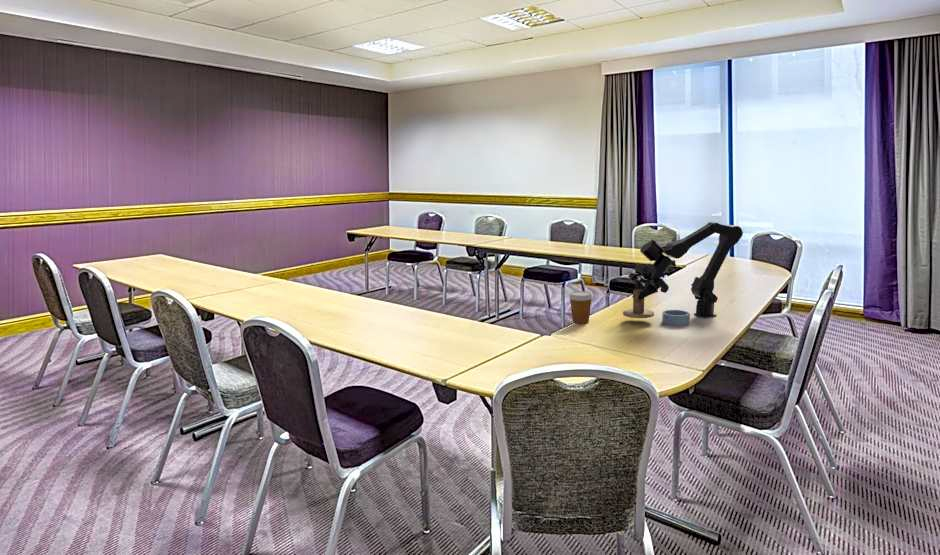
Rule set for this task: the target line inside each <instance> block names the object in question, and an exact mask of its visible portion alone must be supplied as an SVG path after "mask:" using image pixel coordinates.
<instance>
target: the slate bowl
mask: <svg viewBox="0 0 940 555" xmlns="http://www.w3.org/2000/svg"><path fill="white" fill-rule="evenodd" d="M661 318H662V320H661V322H662V324H664V325H667V326H672V325H673V327H684V326H688V325H690V323H691V322H690V320H691V314H690V312H689V311H686V310H683V309H681V310H680V309H666V310H663V311H662V316H661Z"/></svg>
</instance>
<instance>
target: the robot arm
mask: <svg viewBox="0 0 940 555" xmlns="http://www.w3.org/2000/svg"><path fill="white" fill-rule="evenodd" d="M714 234H719V236H718V245H717V246H716V248H715V251H714V253H713V254H712V256H711V258H710V260H709V262H708V264H707V266H706V267H705V270H704V271H703V274H702V275H701V276H700V277H699V276H696V277H694V279H693V282H692V284H690V286H691V288H690V291H691V293H692V295H693V296H694V298H695V300H697V301H696V306H695V308H696V309H695V312H694V313H693V315H694V316H698V317H701V318H704V319H705V318H712V317H717V316H718V315H717V314H716V313H715V303H717V301H718V298H719V297H718V296H717V295H716V294H715V293H713V292H714V288H715V280H716V277H717V275H718V273H719V271H720V270H721V267H722V266H723V263H724V262H725V260H726V258H727V256H728V254H729V252H730V251H731V249H732V247H734V246H736V245H737V244H738V242H739V241H740V239H742V237H743V235H744V232H743V229H742V227H740V226H738V225H732V224H721V223H718V222H715V221H709V222H708V223H706V225H704V226H702V227H700V228H699V229H697V230H695V231H693V232H692V233H690V234H688V235H687V236H685V237H683V238H680V239H677V240H673V241H671V242H668V243H667V244H666V245H664V246H660V245H659V244H658V243H657V241H655V240H654V239H650V241H647V243H645V244H643V245H642V246H641V248H640V250H639V252H640V253H641V254H642V255H643V256H644V257H645V258H646V259H647V260H648V261H649V262H653V263H652V264H651V263H647V264H643V263H639V262H638V263H636V265H635V269H634V271H635V272H630V273H629V275H628V278H629V279H630V281H632V283H633V284H634V285H635V287H634V290H636V289H641V290H643V291H642V292H641V294H640V295H639V297H638V300H641V299H643V298H644V299H645V298H647V297H649V296H651V295H653V294H656V293H659V291H658V290H660V292H661V293H664V294H666V293H667V292H668V291H670V290H669V288H670V287H669V285H668V284H667V282H666V281H665V280H664V279H663V278H665V277H666V274H665V273H666V272H667V270H669V268H676V267H677V264H676V260H675V259H680V258H682V257H683V256H684V255H686V254H687V253H688V252H689V250H690V249H691V248H692V247H693V246H695V245H698V244H699V243H700V242H702V241H703V240H705V239H707V238H709V237H710V236H712V235H714ZM671 258H673V259H674V260H673V259H671ZM636 272H638V273H636ZM639 273H640V274H639ZM631 297H632V298H633V295H632V296H631Z"/></svg>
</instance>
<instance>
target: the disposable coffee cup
mask: <svg viewBox="0 0 940 555" xmlns="http://www.w3.org/2000/svg"><path fill="white" fill-rule="evenodd" d="M593 298H594V296H593V294H592V292H590V291H584V290H579V291H578V290H577V291H576V290H575V291H571V292H570V293H569V295H568V299H569V301H570V303H569V304H570V310H571V315H572V319H571V320H572V323H574V324H576V325H585V324H589V321H590V314H591V306H592V299H593ZM577 323H578V324H577Z"/></svg>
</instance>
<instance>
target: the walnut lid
mask: <svg viewBox="0 0 940 555" xmlns="http://www.w3.org/2000/svg"><path fill="white" fill-rule="evenodd" d="M642 291H643V290H641V289H636V290H635V289H633V291H632V296H633V297H632V298H633V299H632V303H633V304H632V308H631V309H626V310H623V312H622V315H623V316H625V317H626V318H633V319H649V318H652V317H654V316H655V312H654V311H652V310H649V309H645V298H643V299H641V300H638V297H639V295H640V294H641V292H642Z"/></svg>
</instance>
